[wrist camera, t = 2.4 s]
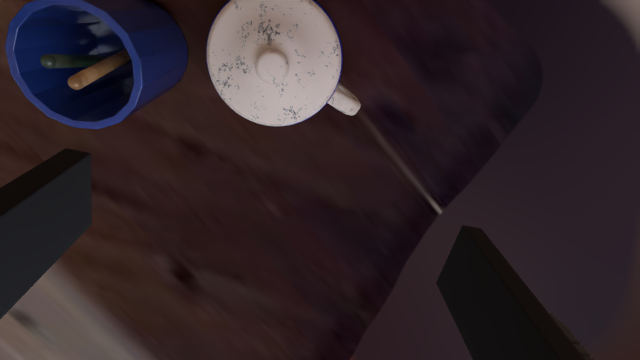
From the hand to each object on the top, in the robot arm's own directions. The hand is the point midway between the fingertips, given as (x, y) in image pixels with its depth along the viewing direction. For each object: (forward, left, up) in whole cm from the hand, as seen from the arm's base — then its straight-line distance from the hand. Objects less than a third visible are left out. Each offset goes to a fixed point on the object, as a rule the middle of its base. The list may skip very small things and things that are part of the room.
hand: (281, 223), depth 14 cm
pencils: (-13, -3, -23) cm, 27 cm away
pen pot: (-13, -3, -23) cm, 27 cm away
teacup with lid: (-1, +3, -24) cm, 24 cm away
